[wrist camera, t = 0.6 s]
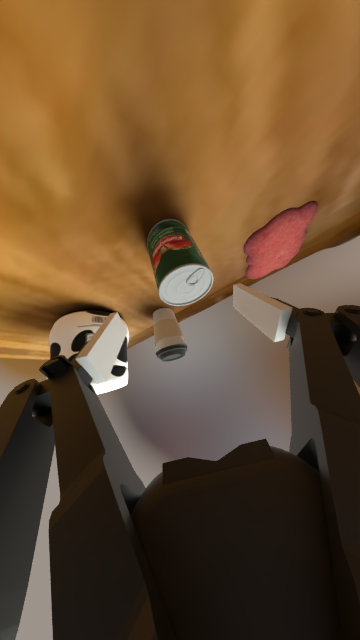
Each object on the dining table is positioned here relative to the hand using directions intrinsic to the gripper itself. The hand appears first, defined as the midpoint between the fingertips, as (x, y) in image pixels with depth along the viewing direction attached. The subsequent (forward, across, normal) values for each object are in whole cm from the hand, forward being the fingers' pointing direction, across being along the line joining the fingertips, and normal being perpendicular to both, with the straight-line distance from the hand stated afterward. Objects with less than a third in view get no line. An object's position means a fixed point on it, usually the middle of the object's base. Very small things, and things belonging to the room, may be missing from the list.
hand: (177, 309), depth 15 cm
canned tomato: (+14, +1, +7) cm, 15 cm away
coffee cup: (+25, -5, -12) cm, 28 cm away
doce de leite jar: (+21, -24, -8) cm, 33 cm away
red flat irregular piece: (+20, +26, +1) cm, 32 cm away
